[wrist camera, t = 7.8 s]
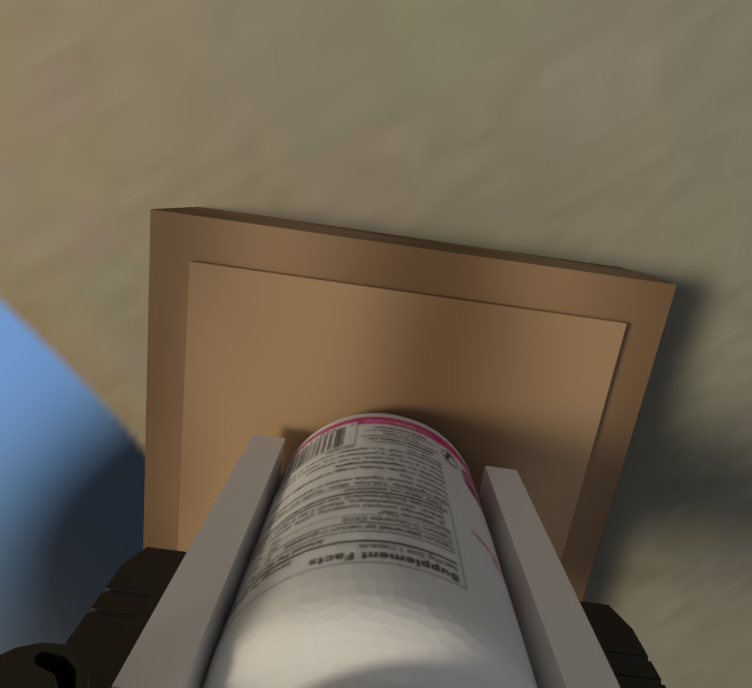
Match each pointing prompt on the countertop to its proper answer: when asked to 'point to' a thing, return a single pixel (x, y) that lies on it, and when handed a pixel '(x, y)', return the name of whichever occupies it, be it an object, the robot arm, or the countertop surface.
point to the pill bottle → (373, 572)
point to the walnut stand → (390, 360)
